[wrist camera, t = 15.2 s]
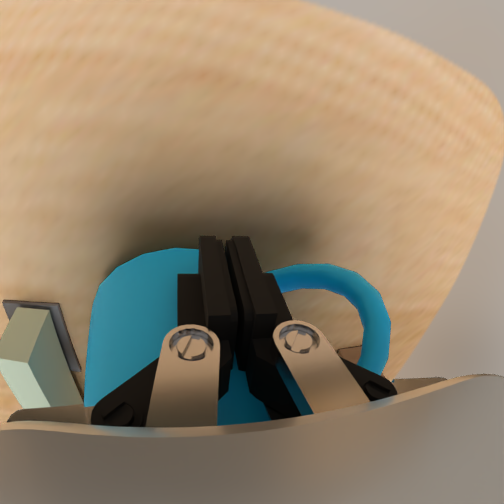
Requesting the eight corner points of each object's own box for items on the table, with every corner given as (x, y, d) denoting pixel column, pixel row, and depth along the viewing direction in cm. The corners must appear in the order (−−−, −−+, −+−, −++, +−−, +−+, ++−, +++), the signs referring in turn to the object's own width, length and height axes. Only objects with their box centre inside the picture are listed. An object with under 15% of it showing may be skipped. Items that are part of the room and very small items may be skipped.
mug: (170, 380, 17) (192, 510, 11) (58, 311, 12) (41, 490, 6) (355, 281, 16) (437, 416, 9) (293, 150, 10) (457, 340, 4)
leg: (95, 427, 18) (92, 468, 15) (71, 425, 18) (66, 464, 15) (49, 310, 13) (27, 363, 10) (17, 306, 12) (-8, 356, 9)
